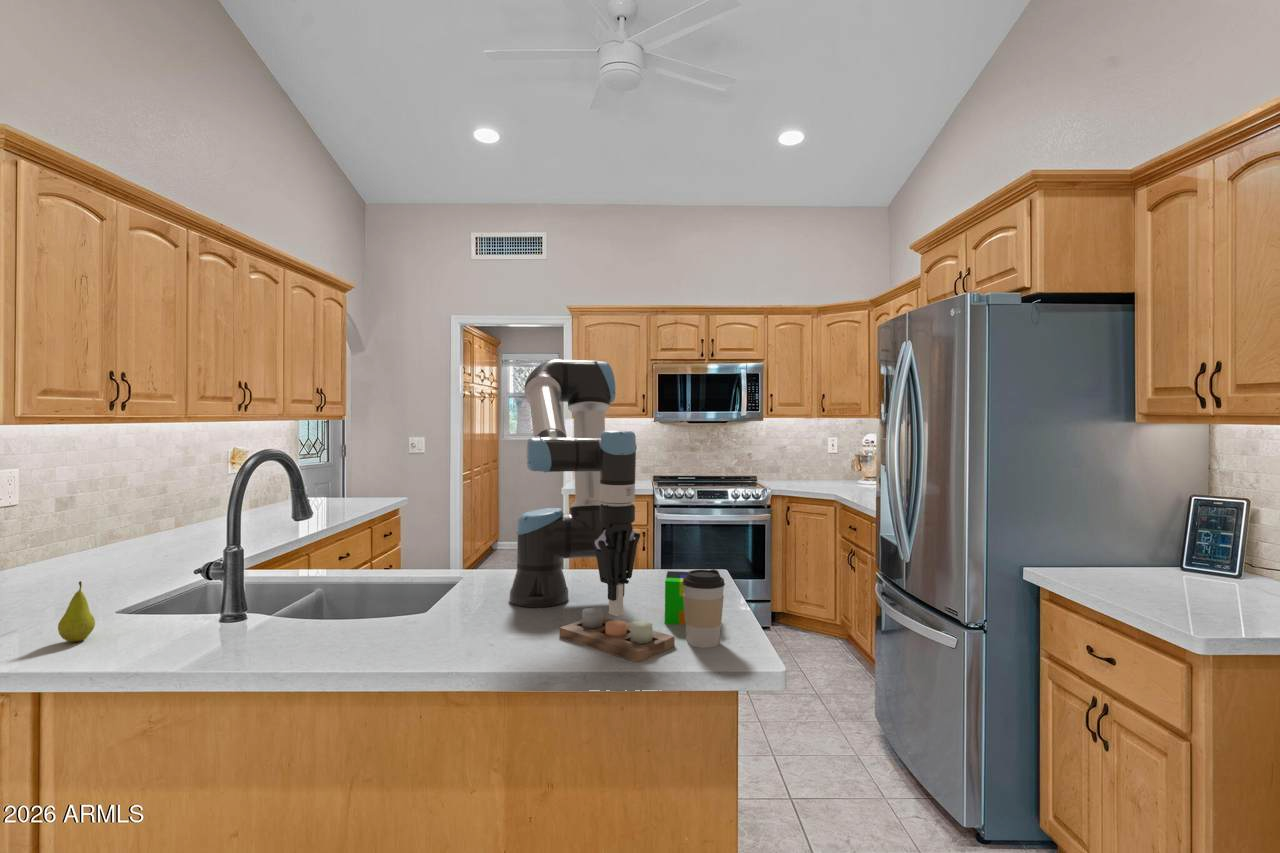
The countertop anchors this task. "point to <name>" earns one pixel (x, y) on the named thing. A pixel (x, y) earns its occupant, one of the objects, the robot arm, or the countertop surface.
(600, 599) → the countertop surface
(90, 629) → the fruit
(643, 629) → the button sage
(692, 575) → the coffee cup
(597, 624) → the button grey
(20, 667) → the countertop surface
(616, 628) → the button terracotta
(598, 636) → the button board
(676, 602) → the puzzle toy
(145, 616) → the countertop surface
